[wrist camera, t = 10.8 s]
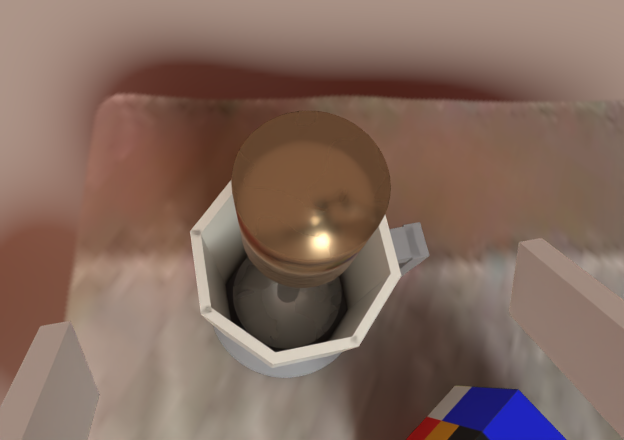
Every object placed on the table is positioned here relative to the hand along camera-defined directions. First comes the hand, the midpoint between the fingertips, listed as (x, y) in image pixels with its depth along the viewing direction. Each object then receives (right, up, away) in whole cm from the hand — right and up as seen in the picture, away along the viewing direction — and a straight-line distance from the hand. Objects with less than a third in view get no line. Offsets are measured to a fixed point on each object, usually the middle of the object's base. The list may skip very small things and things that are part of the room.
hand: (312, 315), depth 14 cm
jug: (-2, -4, +24) cm, 24 cm away
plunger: (-2, -3, +22) cm, 22 cm away
